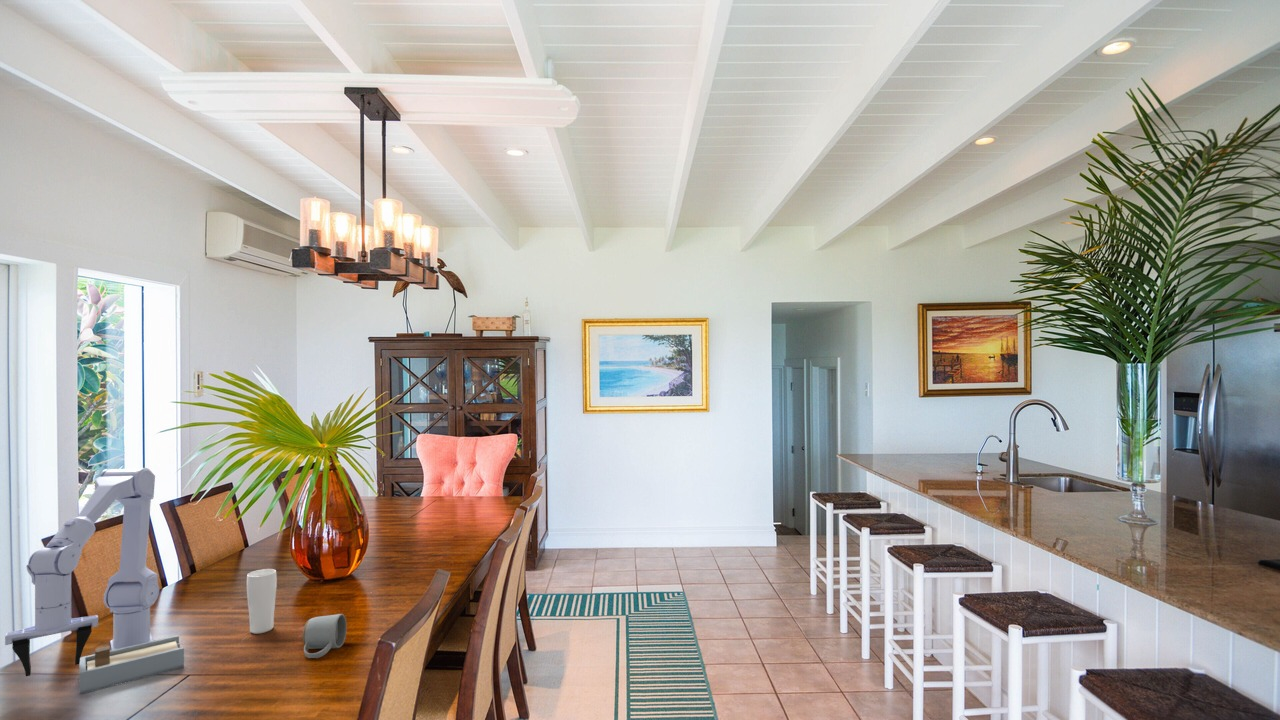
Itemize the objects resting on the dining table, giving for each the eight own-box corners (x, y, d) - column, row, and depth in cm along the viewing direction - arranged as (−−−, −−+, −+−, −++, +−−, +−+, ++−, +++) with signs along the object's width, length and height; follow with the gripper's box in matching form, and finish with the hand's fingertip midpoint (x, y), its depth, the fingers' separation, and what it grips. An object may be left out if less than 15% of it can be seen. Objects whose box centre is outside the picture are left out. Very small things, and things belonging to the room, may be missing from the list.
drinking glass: (243, 630, 169) (243, 572, 169) (272, 623, 173) (272, 567, 173) (250, 637, 164) (250, 578, 164) (280, 630, 168) (279, 572, 169)
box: (79, 677, 143) (79, 657, 143) (178, 653, 155) (178, 634, 155) (79, 694, 136) (79, 673, 136) (183, 667, 148) (183, 648, 148)
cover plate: (87, 664, 143) (87, 646, 143) (175, 643, 154) (175, 627, 154) (87, 675, 138) (87, 657, 138) (179, 653, 148) (179, 636, 148)
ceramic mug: (313, 641, 161) (313, 610, 161) (347, 639, 162) (347, 609, 162) (294, 661, 151) (294, 628, 151) (331, 659, 151) (330, 626, 151)
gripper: (3, 618, 129) (3, 686, 129) (98, 600, 139) (98, 664, 138) (6, 608, 134) (6, 674, 134) (97, 592, 144) (97, 653, 144)
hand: (53, 668), depth 137 cm, fingers open, 7 cm apart
